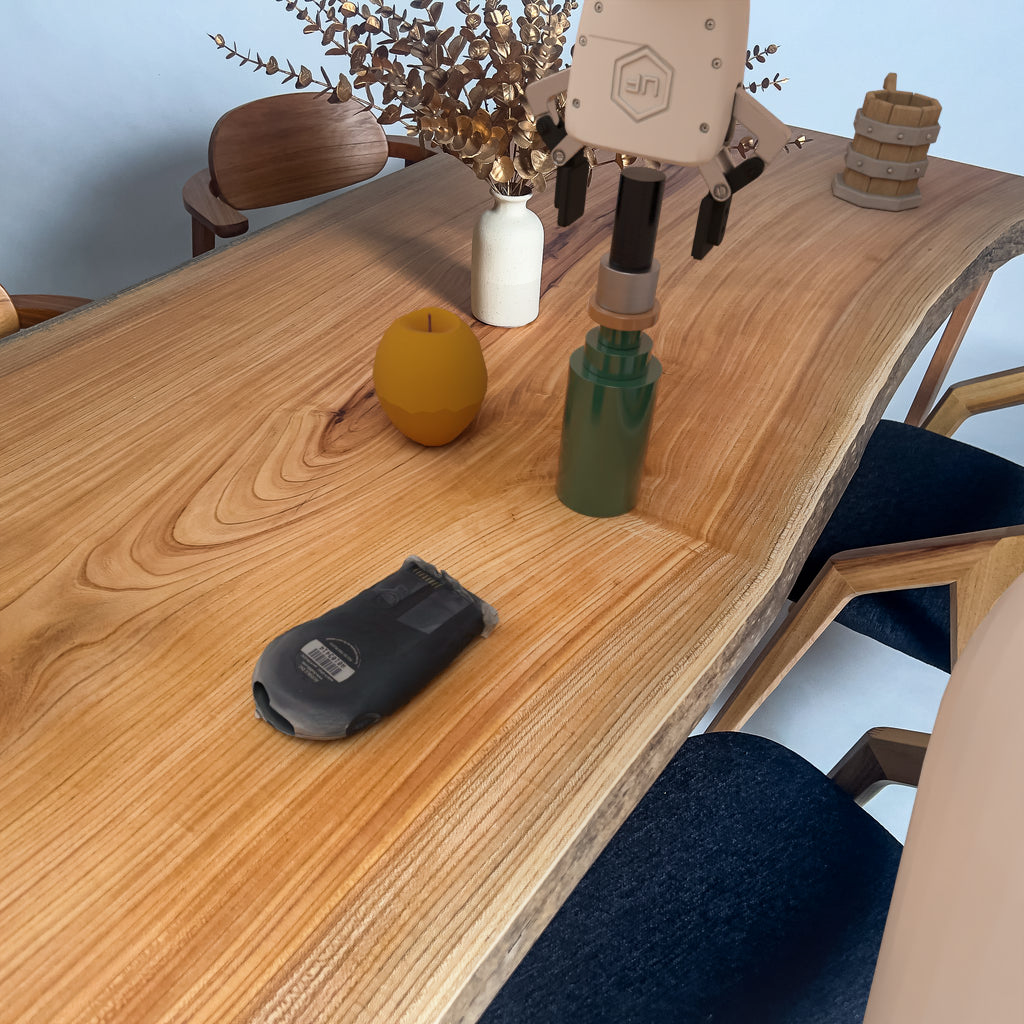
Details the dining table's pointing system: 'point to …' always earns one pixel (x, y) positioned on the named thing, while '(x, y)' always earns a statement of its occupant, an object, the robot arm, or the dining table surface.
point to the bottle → (608, 413)
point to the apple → (430, 375)
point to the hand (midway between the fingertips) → (634, 236)
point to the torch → (633, 244)
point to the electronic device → (368, 653)
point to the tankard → (889, 149)
